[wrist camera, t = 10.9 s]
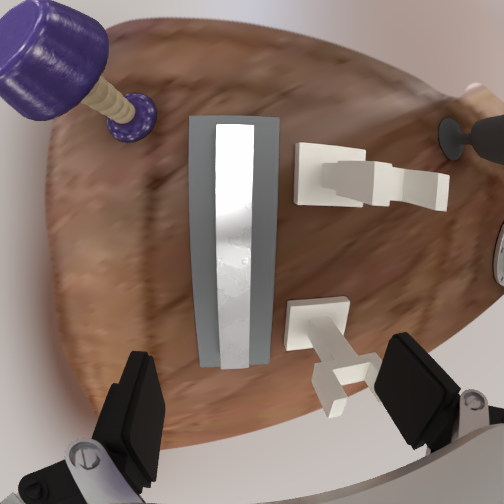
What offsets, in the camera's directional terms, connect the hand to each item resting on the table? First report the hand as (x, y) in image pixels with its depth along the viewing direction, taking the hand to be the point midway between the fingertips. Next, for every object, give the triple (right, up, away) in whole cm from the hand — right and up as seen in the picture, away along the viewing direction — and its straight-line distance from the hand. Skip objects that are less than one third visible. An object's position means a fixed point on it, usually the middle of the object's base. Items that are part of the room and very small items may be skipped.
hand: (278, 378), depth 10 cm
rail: (-3, +4, +12) cm, 13 cm away
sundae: (+21, +17, +13) cm, 31 cm away
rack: (+5, +5, +15) cm, 16 cm away
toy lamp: (-10, +16, +9) cm, 21 cm away
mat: (-3, +4, +14) cm, 15 cm away
